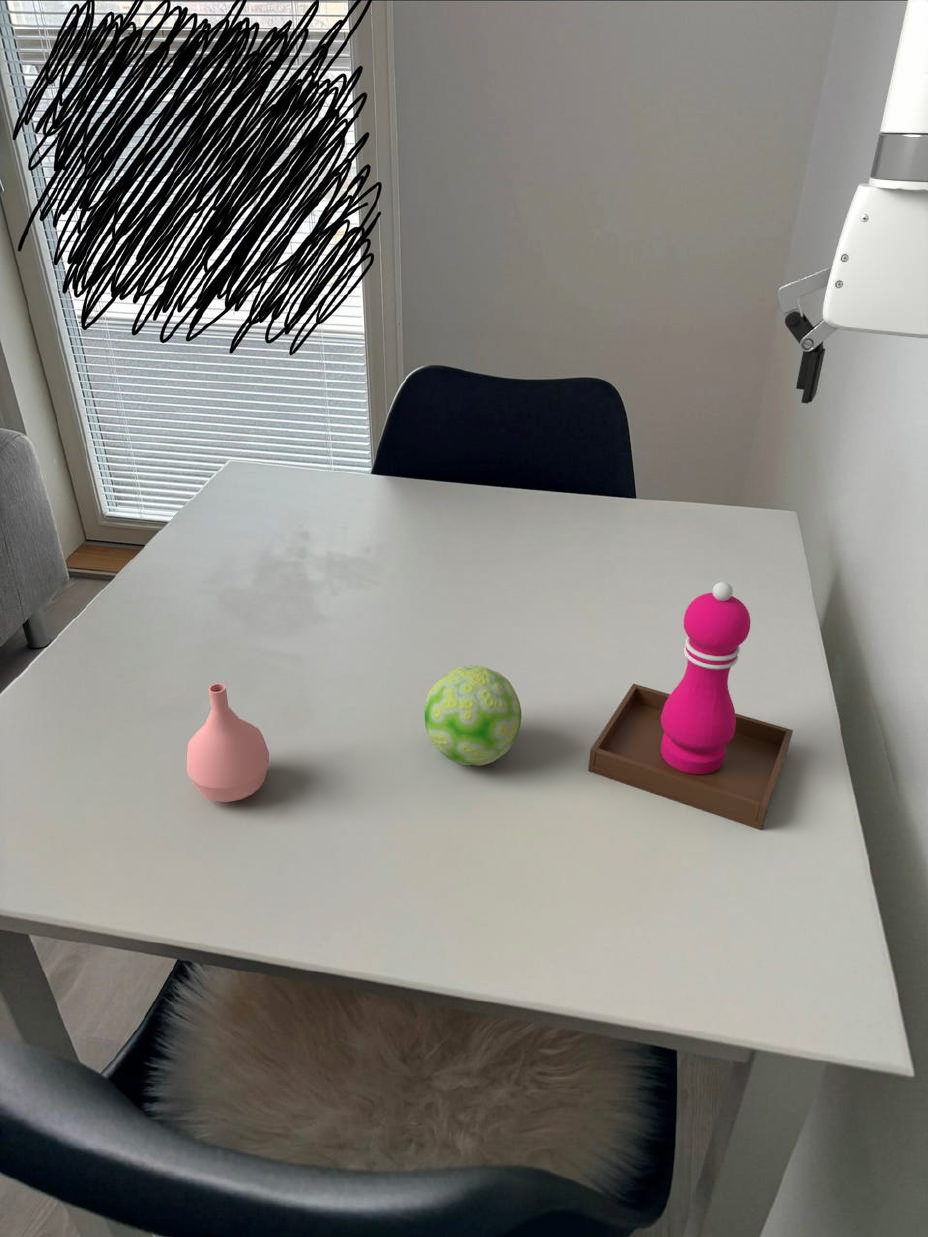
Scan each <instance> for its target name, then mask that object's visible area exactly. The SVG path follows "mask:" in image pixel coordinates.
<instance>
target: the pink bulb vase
mask: <svg viewBox="0 0 928 1237" xmlns="http://www.w3.org/2000/svg"><path fill="white" fill-rule="evenodd" d="M208 696H209V701H210V702H209V703H210V708H211V710H210V711H209V714H208V716H207V719H206V721H205V723H204V724H203V725H202V727H200V728H199V730H197V731H196V732H195V733H194V734H193V736H192V737H191V739H190V740H189V741H188V742H187V743H188V744H187V750H186V751H187V752H186V769H185V770H186V773H187V775H188V777H189V779H190V781H191V782H192V784H193V785H194V788H196V790H197V792H198V793H199V794H200V795H201V796H202V797H204V798H205V799H207V800H209V801H214V802H219V803H230V802H235V801H240V800H243V799H245V798H247V797H249V796H251V795H253V794H254V793H255V792H257V791H258V790H259V789H260V788H261V787H262V785H263V783H264V782H265V779H266V777H267V772H268V767H269V764H270V751H269V749H268V746H267V743H266V740H265V738H264V735H263V734H262V732H261V730H260V728H258V727H256V726H255V725H253V724H252V723H250V722H248V721H246V720H243V719H242V718H240V717H239V716H238V715H237V714H236V713H235V711H233V710H232V708H231V707H230V706H229V701H228V692H227V687H226V685H225V684H224V683H222V682H221V683H220V682H217V683H212V684H211V685H209V686H208Z"/></svg>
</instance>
